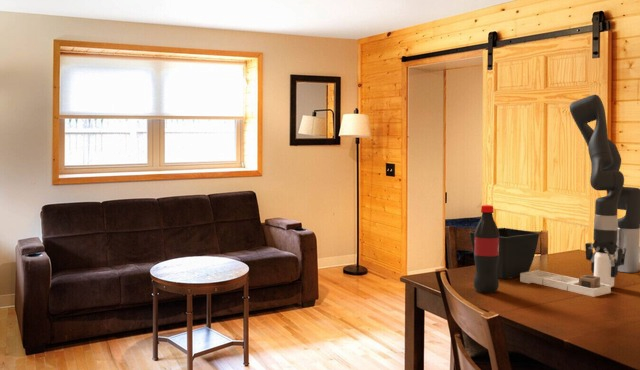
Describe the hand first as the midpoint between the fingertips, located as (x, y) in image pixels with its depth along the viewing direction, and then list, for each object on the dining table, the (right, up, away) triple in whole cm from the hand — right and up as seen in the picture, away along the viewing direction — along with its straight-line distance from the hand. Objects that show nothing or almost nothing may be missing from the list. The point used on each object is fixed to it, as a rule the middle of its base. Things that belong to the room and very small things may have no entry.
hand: (604, 274), depth 214 cm
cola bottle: (-42, -6, -1) cm, 42 cm away
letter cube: (-8, -5, -6) cm, 11 cm away
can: (0, -4, 0) cm, 4 cm away
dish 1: (-19, -4, +11) cm, 22 cm away
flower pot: (-28, -4, +24) cm, 37 cm away
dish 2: (-13, -5, +2) cm, 14 cm away
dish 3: (-8, -6, -6) cm, 11 cm away
